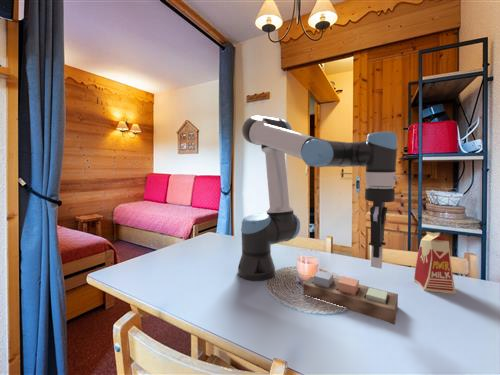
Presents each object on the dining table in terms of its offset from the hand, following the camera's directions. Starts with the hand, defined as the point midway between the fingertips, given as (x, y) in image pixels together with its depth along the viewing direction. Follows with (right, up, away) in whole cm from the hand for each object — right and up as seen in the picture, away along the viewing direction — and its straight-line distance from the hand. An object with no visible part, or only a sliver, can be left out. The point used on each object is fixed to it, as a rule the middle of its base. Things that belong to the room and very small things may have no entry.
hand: (376, 266), depth 70 cm
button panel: (-6, -13, +5) cm, 15 cm away
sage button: (0, -12, +1) cm, 12 cm away
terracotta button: (-6, -11, +5) cm, 13 cm away
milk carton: (+28, -12, +14) cm, 33 cm away
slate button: (-13, -10, +10) cm, 19 cm away
